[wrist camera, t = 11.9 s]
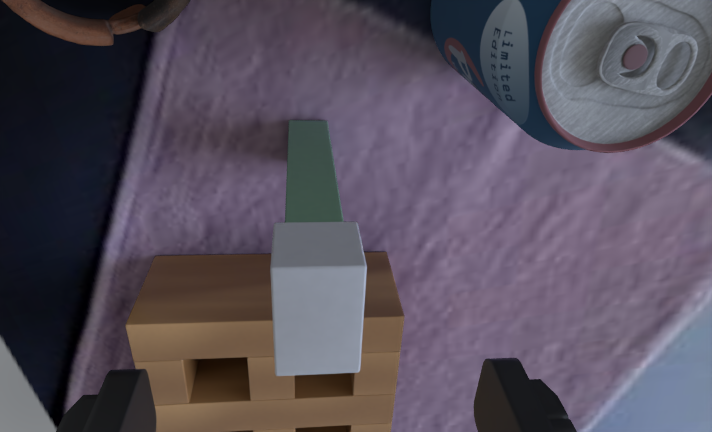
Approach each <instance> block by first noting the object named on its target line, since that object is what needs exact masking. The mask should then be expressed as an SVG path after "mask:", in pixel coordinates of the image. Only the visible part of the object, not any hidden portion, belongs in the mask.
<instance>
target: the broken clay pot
mask: <svg viewBox="0 0 712 432" xmlns="http://www.w3.org/2000/svg"><path fill="white" fill-rule="evenodd" d="M2 1H3V2H4V3H5V4H7V5H8V6H9V7H10V9H11V10H12V11H14V12H15V13H17V14H18V15H19V16H21V17H22V18H23V19H24V20H26V21H27V22H29V23H30V24H32V25H33V26H35V27H37V28H38V29H40V30H42V31H44V32H45V33H47V34H49V35H53V36H55V37H58V38H61V39H63V40H66V41H71V42H74V43H77V44H81V45H95V46H108V45H112V44H113V43H114V41H113V34H124V33H127V32H133V31H135V30H138V29H140V28H143V29H144V30H148V31H152V32H160V31H161V30H164V29H165V28H166V27H167V26H168V25H169V24H171V23H172V22H173V21H174V20H175V19H176V18H177V17H178V16H179V14H180V13H181V11H182V10H183V9H184V8H185V7H186V6H187V5H188V3H189V2H190V0H154V1H153V2H151V3H150V4H149V5H148V6H143V5H141V4H137V5H133V6H131V7H129V8H127V9H124V10H122V11H120V12H119V13H116V14H115V15H113V16H112V17H111V18H110V19H109V20H103V19H89V18H82V17H77V16H74V15H70V14H67V13H64V12H62V11H59V10H57V9H55V8H53V7H50V6H49V5H47V4H45V3H44V2H42V1H41V0H2Z"/></svg>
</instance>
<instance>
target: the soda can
mask: <svg viewBox="0 0 712 432" xmlns="http://www.w3.org/2000/svg"><path fill="white" fill-rule="evenodd" d="M431 27H432V32H433V36H434V39H435V42H436V45H437V47H438V49H439V51H440V53H441V54H442V56H443V57H444V59H445V60H446V61H447V62H448V64H449V65H450V66H451V67H452V68H454V69H455V70H456V71H457V72H458V73H459V74H460V75H462V76H463V77H464V78H465V79H466V80H467V81H468V82H469V83H471V84H472V85H473V86H474V87H475V88H476V89H477V90H478V91H480V92H481V93H482V94H483V95H484V96H485V97H486V98H488V99H489V100H490V101H491V102H492V103H493V104H494V105H495V106H497V107H498V108H499V109H500V110H501V111H502V112H503V113H505V114H506V115H507V116H508V117H509V118H510V119H511V120H512V121H514V122H515V123H516V124H517V125H518V126H519V127H520V128H521V129H523V130H524V131H525V132H526V133H527V134H529V135H530V136H531V137H533V138H534V139H536V140H538V141H540V142H542V143H544V144H547V145H550V146H553V147H557V148H561V149H568V150H590V151H594V152H603V153H615V152H624V151H629V150H634V149H637V148H641V147H644V146H646V145H649V144H651V143H653V142H656V141H658V140H660V139H662V138H663V137H665V136H667V135H669V134H670V133H672V132H673V131H675V130H676V129H678V128H679V127H680V126H681V125H683V124H684V123H685V122H686V121H688V120H689V119H690V118H691V117H692V116H693V115H694V114H695V113H696V112H697V111H698V110H699V109H700V108H701V107H702V106H703V105H704V104H705V102H706V101H707V100H708V99H709V97H710V96H711V95H712V0H432V1H431Z"/></svg>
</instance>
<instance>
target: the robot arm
mask: <svg viewBox="0 0 712 432" xmlns="http://www.w3.org/2000/svg"><path fill="white" fill-rule="evenodd" d="M474 417H475V423H476V426H477V430H478V432H577V431H576V429H575V428H574V426H573V424H572V422H571V420H570V419H568V415H567V413H566V411H565V409H564V407H563V405H562V403H561V402H560V400H559V398H558V396H557V395H556V394H555V393H554V392H553V391H552V390H551V389H550V388H549V387H548V386H547V385H546V384H545V383H543V382H542V381H541V380H540V379H534V380H529V378H528V376H527V374H526V372H525V370H524V368H523V366H522V364H521V362H520V361H519V360H518V359H517V358H496V359H485V361H484V363H483V366H482V370H481V375H480V379H479V383H478V387H477V391H476V396H475V400H474ZM156 423H157V418H156V410H155V405H154V400H153V395H152V391H151V386H150V381H149V376H148V372H147V370H146V369H125V370H111V371H109V372H108V374H107V376H106V378H105V380H104V382H103V385H102V387H101V389H100V392H99V394H98V395H83V396H82V397H81V398H80V399H79V400H78V401H77V402H76V403H75V404H74V405H73V406H72V407H71V408H70V409H69V410H68V411H67V412H66V414H65V415H64V416H63V418H62V420H61V422H60V424H59V427H58V429H57V431H56V432H156Z"/></svg>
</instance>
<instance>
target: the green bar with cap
mask: <svg viewBox="0 0 712 432" xmlns="http://www.w3.org/2000/svg"><path fill="white" fill-rule="evenodd" d="M270 274H271V296H272V318H273V340H274V362H275V374H276V376H293V375H315V374H337V373H358V372H359V371H360V365H361V350H362V335H363V319H364V304H365V289H366V274H367V265H366V260H365V256H364V251H363V246H362V241H361V236H360V232H359V227H358V223H357V222H344V221H343V215H342V209H341V202H340V196H339V190H338V184H337V178H336V172H335V165H334V159H333V153H332V147H331V141H330V134H329V128H328V122H327V121H315V120H289V130H288V156H287V183H286V210H285V223H275V224H274V227H273V240H272V253H271V267H270Z"/></svg>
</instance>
